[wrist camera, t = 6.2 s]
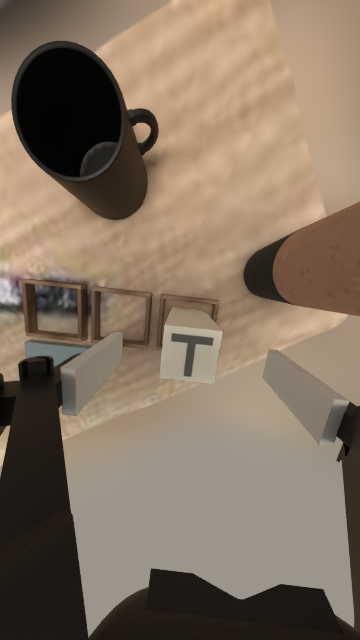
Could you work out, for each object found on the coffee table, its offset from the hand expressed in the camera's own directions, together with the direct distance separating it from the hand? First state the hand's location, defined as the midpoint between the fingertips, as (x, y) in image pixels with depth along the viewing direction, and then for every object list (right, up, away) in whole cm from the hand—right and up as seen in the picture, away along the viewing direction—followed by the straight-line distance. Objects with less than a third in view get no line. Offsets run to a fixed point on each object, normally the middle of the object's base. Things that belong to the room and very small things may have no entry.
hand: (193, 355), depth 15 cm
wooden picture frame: (-20, +5, +11) cm, 23 cm away
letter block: (0, +3, +11) cm, 12 cm away
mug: (-9, +22, +8) cm, 25 cm away
